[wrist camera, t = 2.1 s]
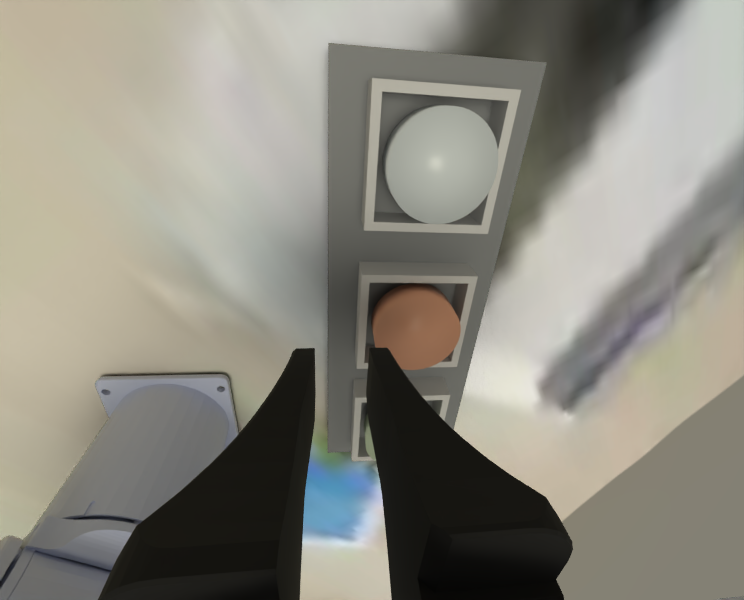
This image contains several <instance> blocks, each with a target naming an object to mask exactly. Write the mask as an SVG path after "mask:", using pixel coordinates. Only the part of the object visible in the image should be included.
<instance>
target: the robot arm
mask: <svg viewBox="0 0 744 600" xmlns="http://www.w3.org/2000/svg"><path fill="white" fill-rule="evenodd" d="M219 386H222V387H224V388H220V387H219ZM95 387H96V389H97V391H98V394H99V396H100V398H101V401H102V403H103V405H104V408H105V410H106V412H107V415H108V417H109V419H108V420H107V422H106V423H105V424H104V426H103V427H102V429H101V430H100V432H99V433H98V435H97V436H96V438H95V439H94V440H93V442H92V443H91V445H90V446H89V448H88V449H87V451H86V452H85V453H84V455H83V456H82V458H81V459H80V461H79V462H78V464H77V465H76V467H75V468H74V469H73V471H72V472H71V474H70V475H69V477H68V478H67V480H66V481H65V483H64V484H63V485H62V487H61V488H60V490H59V491H58V493H57V494H56V496H55V497H54V499H53V500H52V501H51V503H50V504H49V506H48V507H47V509H46V510H45V512H44V513H43V515H42V516H41V517H40V519H39V520H38V522H37V523H36V525H35V526H34V528H33V529H32V531H31V532H30V533H29V534H28V535H27V536H26V537H25V538H24V539H23V540H22V539H20V538H17V537H14V536H6V537H4V538H3V539H2V540H0V600H300V577H301V555H302V534H303V514H304V497H305V487H306V479H307V472H308V464H309V457H310V450H311V443H312V436H313V429H314V421H315V348H307V349H295V350H294V351H293V352H292V355H291V357H290V360H289V362H288V364H287V366H286V368H285V369H284V371H283V373H282V375H281V376H280V378H279V380H278V381H277V383H276V385H275V386H274V388H273V389H272V391H271V392H270V394H269V395H268V397H267V398H266V400H265V401H264V402H263V404H262V405H261V407H260V408H259V409H258V411H257V412H256V414H255V415H254V416H253V417H252V419H251V420H250V421H249V422H248V424H247V425H246V426H245V427H244V428H243V430H242V431H241V432H240V433H238V427H237V421H236V416H235V410H234V405H233V399H232V393H231V388H230V382H229V378H228V377H227V376H226V375H223V374H201V375H152V376H104V377H100V378H99V379H98V380H97V381H96V383H95ZM106 389H107V390H106ZM108 390H109V391H108ZM366 398H367V411H368V421H369V426H370V431H371V437H372V442H373V447H374V452H375V457H376V462H377V467H378V472H379V478H380V483H381V490H382V498H383V507H384V517H385V527H386V538H387V549H388V560H389V572H390V584H391V596H392V600H564V597H563V594H562V591H561V589H560V587H559V585H558V583H557V581H556V578H557V577H558V575H559V574H560V572H561V571H562V569H563V568H564V566H565V565H566V563H567V562H568V560H569V558H570V555H571V553H572V550H573V547H572V540H571V539H570V537H569V535H568V533H567V531H566V529H565V528H564V526H563V524H562V522H561V520H560V519H559V517H558V515H557V513H556V512H555V511H554V509H553V508H552V506H551V505H550V503H549V501H548V500H547V498H546V497H545V496H543V495H542V494H540V493H538V492H537V491H535V490H534V489H532V488H530V487H529V486H527V485H526V484H524V483H522V482H521V481H519V480H518V479H516V478H514V477H513V476H511V475H510V474H508V473H507V472H506V471H504V470H503V469H501V468H500V467H499V466H497V465H496V464H494V463H493V462H492V461H490V460H489V459H488V458H486V457H485V456H484V455H482V454H481V453H480V452H479V451H478V450H476V449H475V448H474V447H473V446H471V445H470V444H469V443H468V442H467V441H465V440H464V439H463V438H462V437H461V436H460V435H459V434H457V433H456V432H455V431H454V430H453V429H452V428H451V427H450V426H449V425H448V424H447V423H446V422H445V421H444V420H443V419H442V418H441V417H440V416H439V415H438V414H437V413H436V412H435V411H434V410H433V408H432V407H431V406H430V405H429V404H428V403H427V402H426V400H425V399H424V398H423V397H422V396H421V394H420V393H419V392H418V391H417V389H416V388H415V387H414V385H413V384H412V383H411V382H410V380H409V379H408V377H407V376H406V375H405V373H404V372H403V370H402V369H401V368H400V366H399V365H398V363H397V361H396V360H395V358H394V357H393V355H392V353H391V352H390V350H389V349H388V348H369V359H368V372H367V386H366ZM717 600H744V596H740V597H731V598H722V599H717Z"/></svg>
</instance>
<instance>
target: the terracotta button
mask: <svg viewBox="0 0 744 600" xmlns="http://www.w3.org/2000/svg"><path fill="white" fill-rule="evenodd" d="M371 325H372V331H373V336H374V342H375V347H376V348H388V349H389V350H390V352H391V353H392V355H393V357H394V358H395V360H396V361H397V363H398V365H399V366H400V368H401V369H404V370H419V369H424V368H428V367H431V366H433V365H435V364H437V363H439V362H441V361H442V360H444V359H445V358H446V357H447V356H448V355H449V354H450V353H451V352H452V351H453V350H454V348H455V347H456V345H457V343H458V341H459V338H460V332H461V326H460V321H459V318H458V316H457V315H456V313H455V311H454V309H453V308H452V306H451V304H450V302H449V301H448V299H447V297H446V296H445V295H444V294H443V293H442V292H441V291H440V290H438V289H437V288H435V287H433V286H431V285H428V284H423V283H409V284H404V285H401V286H398V287H396V288H394V289H392V290H390V291H389V292H387V293H386V294H385V295H384V296H383V297H382V298H381V299H380V300H379V301H378V303H377V304H376V306H375V308H374V310H373V313H372V318H371Z"/></svg>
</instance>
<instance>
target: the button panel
mask: <svg viewBox="0 0 744 600" xmlns="http://www.w3.org/2000/svg"><path fill="white" fill-rule="evenodd" d="M546 64H547V63H545V62H534V61H523V60H512V59H501V58H490V57H478V56H467V55H456V54H445V53H434V52H423V51H412V50H401V49H390V48H378V47H367V46H356V45H345V44H334V43H329V97H328V453H330V452H351V457H352V461H369V460H373V459H372V458H371V457H370V456H369V455H368V453H367V451H366V444H365V434H364V419H365V417H366V415H367V413H368V411H367V398H366V386H367V372H368V359H369V348H376V347H375V342H374V336H373V331H372V325H371V318H372V313H373V310H374V308H375V306H376V304H377V303H378V301H379V300H380V299H381V298H382V297H383V296H384V295H385V294H386V293H387V292H389V291H390V290H392V289H394V288H396V287H398V286H401V285H404V284H409V283H423V284H428V285H431V286H433V287H435V288H437V289H438V290H440V291H441V292H442V293H443V294H444V295H445V296H446V297H447V299H448V301H449V302H450V304H451V306H452V308H453V309H454V311H455V313H456V315H457V316H458V318H459V321H460V326H461V332H460V338H459V341H458V343H457V345H456V347H455V348H454V350H453V351H452V352H451V353H450V354H449V355H448V356H447V357H446V358H445V359H444V360H442V361H441V362H439V363H437V364H435V365H433V366H431V367H428V368H424V369H419V370H404V369H402V370H403V372H404V373H405V375H406V376H407V377H408V379H409V380H410V382H411V383H412V384H413V385H414V387H415V388H416V389H417V391H418V392H419V393H420V394H421V396H422V397H423V398H424V399H425V400H426V402H427V403H428V404H429V405H430V406H431V407H432V408H433V410H434V411H435V412H436V413H437V414H438V415H439V416H440V417H441V418H442V419H443V420H444V421H445V422H446V423H447V424H448V425H449V426H450V427H451V428H452V429H454V425H455V421H456V417H457V413H458V409H459V406H460V402H461V398H462V394H463V390H464V386H465V382H466V378H467V374H468V370H469V366H470V362H471V358H472V354H473V351H474V347H475V343H476V339H477V335H478V331H479V327H480V323H481V319H482V315H483V311H484V307H485V303H486V299H487V296H488V292H489V288H490V284H491V280H492V276H493V272H494V268H495V264H496V260H497V256H498V252H499V248H500V244H501V241H502V237H503V233H504V229H505V225H506V221H507V217H508V213H509V209H510V205H511V201H512V197H513V193H514V189H515V186H516V182H517V178H518V174H519V170H520V166H521V162H522V158H523V154H524V150H525V146H526V142H527V138H528V134H529V131H530V127H531V123H532V119H533V115H534V111H535V107H536V103H537V99H538V95H539V91H540V87H541V83H542V79H543V76H544V72H545V68H546ZM431 105H449V106H458V107H463V108H466V109H469V110H471V111H473V112H475V113H476V114H477V115H479V116H480V117H481V118H482V119H483V120H484V121H485V122H486V123H487V124H488V126H489V127H490V128H491V130H492V132H493V134H494V137H495V140H496V143H497V147H498V168H497V174H496V177H495V180H494V183H493V185H492V187H491V189H490V191H489V193H488V194H487V196H486V197H485V199H484V200H483V201H482V202H481V204H480V205H479V206H478V207H477V208H475V209H474V210H473V211H472V212H471V213H469V214H468V215H466V216H464V217H463V218H461V219H458V220H456V221H453V222H450V223H445V224H428V223H424V222H421V221H418V220H416V219H414V218H412V217H411V216H409V215H408V214H407V213H405V212H404V211H403V210H402V209H401V208H400V206H399V205H398V204H397V202H396V201H395V199H394V197H393V196H392V194H391V193H390V191H389V189H388V187H387V184H386V182H385V178H384V173H383V156H384V151H385V147H386V144H387V142H388V139H389V137H390V135H391V133H392V132H393V130H394V129H395V127H396V126H397V125H398V124H399V123H400V122H401V121H402V120H403V119H404V118H405V117H406V116H407V115H409V114H410V113H412V112H414V111H416V110H418V109H420V108H423V107H426V106H431Z"/></svg>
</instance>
